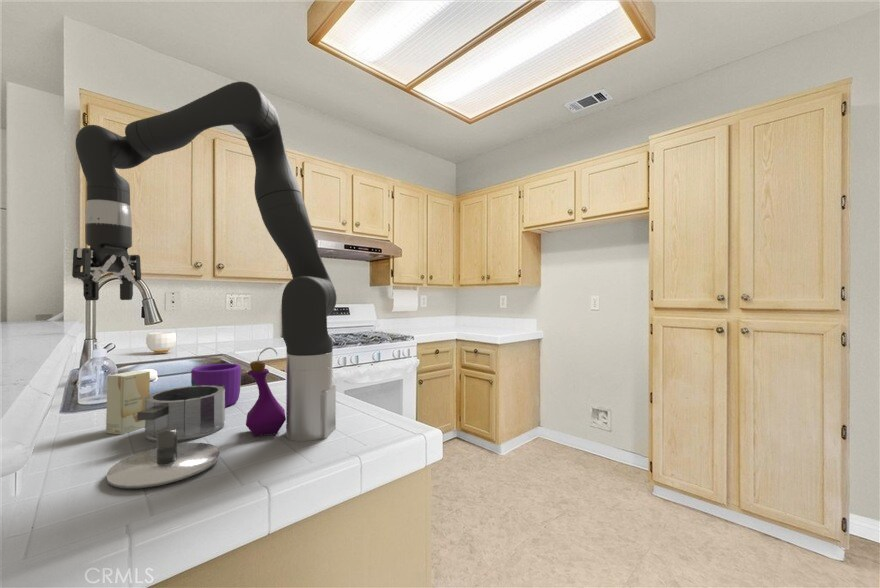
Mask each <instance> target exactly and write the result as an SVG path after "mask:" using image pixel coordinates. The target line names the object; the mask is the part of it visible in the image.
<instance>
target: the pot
mask: <svg viewBox="0 0 880 588" xmlns="http://www.w3.org/2000/svg"><path fill="white" fill-rule="evenodd" d="M225 411H226V407H225V385H200V386H191V385H188V386H181V387H175V388H170V389H164V390H159V391H156V392H154V393H150V394H149V396H147V397H146V398H145V410H143V411H140V412H138V419H137V420H145V427H144V433H145V439H146V441H148V442H152V443H157V431H159V430H161V429H165V428H177V443H181V442H188V441H193V440H196V439H200V438H204V437H207V436H210V435H212V434H213V435H214V434H216V433H217V432H219V431H221V430H222V429H223V428H224V427H225V421H226V419H225V418H226V412H225Z"/></svg>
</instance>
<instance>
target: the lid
mask: <svg viewBox="0 0 880 588" xmlns="http://www.w3.org/2000/svg"><path fill="white" fill-rule="evenodd" d="M219 458H220V449H219V447H218V446H217V445H214V444H211V443H206V442H204V443H203V442H184V443H178V442H177V428H165V429H161V430H159V431H157V442H156V448H152V449H147V450H144V451H141V452H138V453H136V454H133V455H131V456H130V455H129V456H128V457H125V458H124V459H122V460H120V461H119V462H117V463H115V464H114V465H112V466H111V467H110V468H109V469H108V471H107V474H106V481H107V483H108V485H110V486H112V487H115V488H120V489H144V488H152V487H158V486H163V485H167V484H172V483H175V482H176V483H177V482H179V481H182V480H185V479H188V478H190V477H193V476H196V475H197V474H199V473H202V472H204V471H206V470H207V469H209V468H211V467H212V466H213V465H215V464H216V463H217V462H218V460H219Z"/></svg>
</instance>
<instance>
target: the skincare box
mask: <svg viewBox="0 0 880 588" xmlns="http://www.w3.org/2000/svg"><path fill="white" fill-rule="evenodd" d="M106 380H107V383H106V385H107V386H106V418H105V419H106V420H105V433H106V434H114V435H124V434H125V435H126V434H127V433H131V432H133V431H137V430H140V429H143V428H145V420H137V419H138V412H140V411H143V410H145V398H146V397H147V396H149V395H150V394H151V393H150V389H151V388H150V387H151V386H150V385H151V383H150V382H151V381H150V372H149V371H140V370H133V371H127V372H121V373H114V374H109V375H107V377H106Z"/></svg>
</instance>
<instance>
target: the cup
mask: <svg viewBox="0 0 880 588" xmlns="http://www.w3.org/2000/svg"><path fill="white" fill-rule="evenodd" d="M145 340H146V342H145V344H146V347H147V349H149V350H150V351H151V352H154V353H155V354H163V353H168V352H169V351H170V350H173V349H174V348H175V346H176V345H177V344H176V343H177V334H176V332H175V331H157V332H149V333H147V335H146V338H145Z"/></svg>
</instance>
